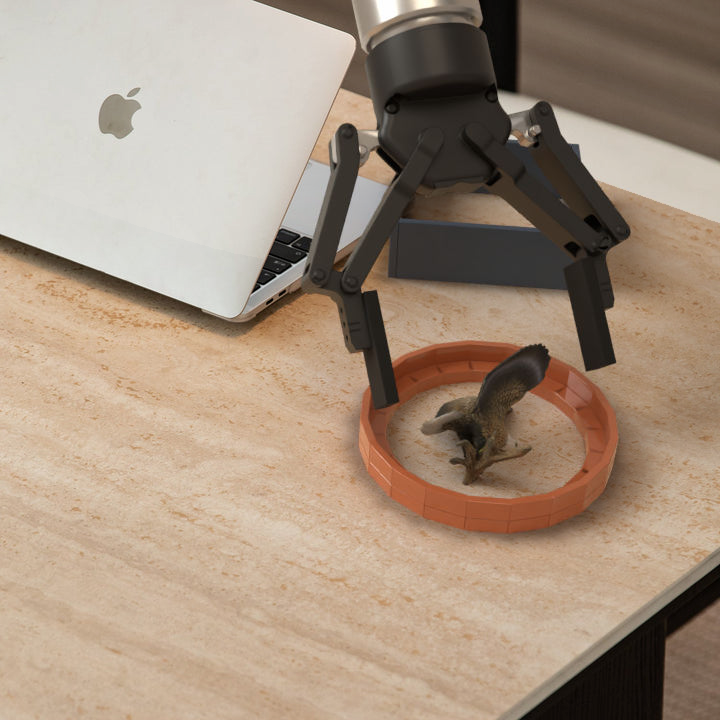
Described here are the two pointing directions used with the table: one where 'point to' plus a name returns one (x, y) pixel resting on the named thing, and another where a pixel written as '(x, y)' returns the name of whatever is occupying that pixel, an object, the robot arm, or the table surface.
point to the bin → (480, 247)
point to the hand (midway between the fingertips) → (496, 387)
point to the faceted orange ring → (475, 511)
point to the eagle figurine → (491, 412)
